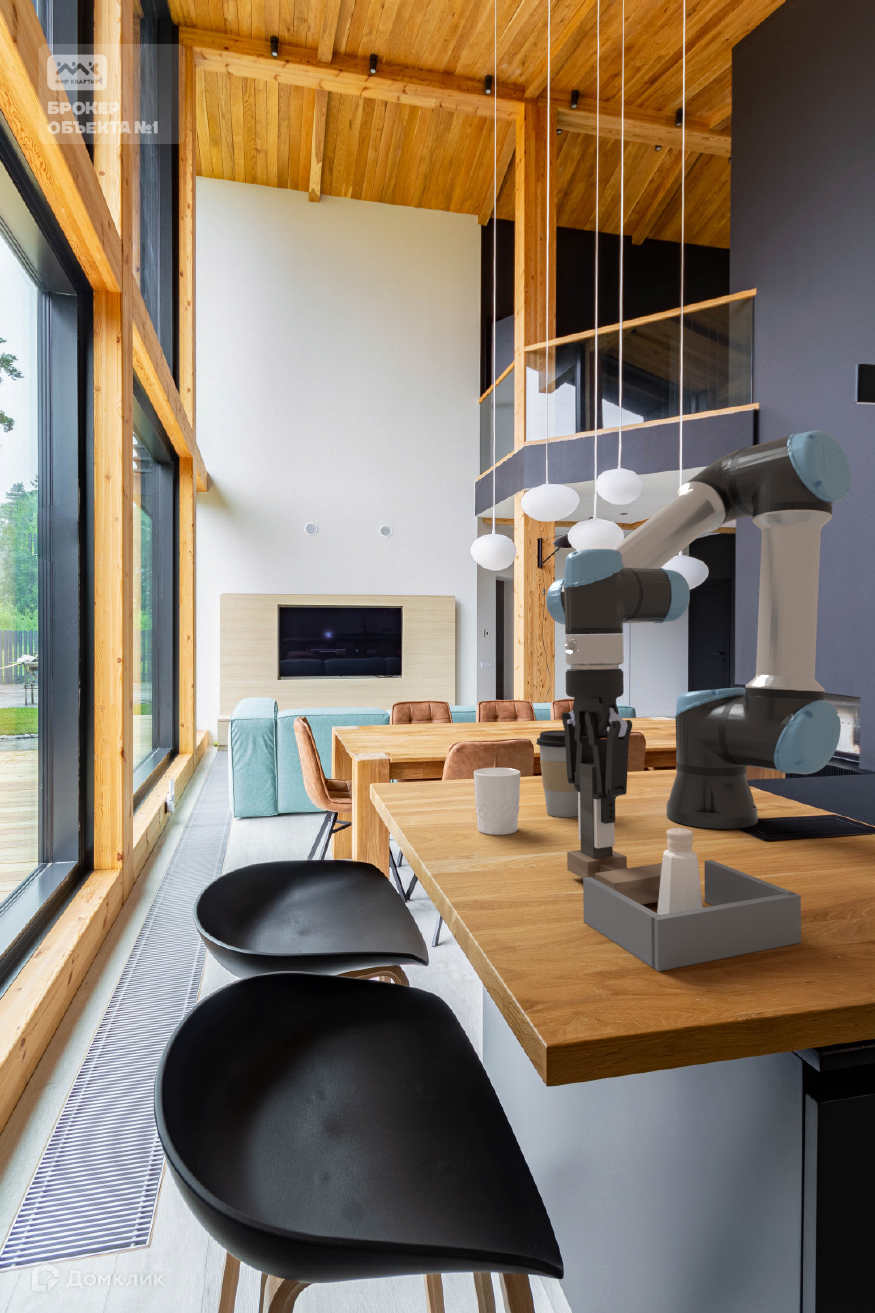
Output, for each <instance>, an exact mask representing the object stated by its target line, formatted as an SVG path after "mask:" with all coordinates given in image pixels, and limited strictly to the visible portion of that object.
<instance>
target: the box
mask: <svg viewBox="0 0 875 1313" xmlns="http://www.w3.org/2000/svg"><path fill="white" fill-rule="evenodd" d="M582 882H583V883H582V884H583V886H582V887H583V888H582V890H583V893H582V894H583V897H582V898H583V922H584V923H585V924H587V925H588V926H590V927H591V928H593V929H594V930H596V931H597V932H598V933H600V934H602V935H603V936H604V937H606V938H607V939H609V940H611V941H612V942H614V943H615V944H616V945H618V946H619V947H621V948H623V949H624V950H626V951H627V952H628V953H630V954H632V955H633V956H635V957H636V958H637V959H638V960H640V961H642V962H643V963H645V964H646V965H648V966H649V967H651V968H652V969H653V970H655V971H656V972H662V971H668V970H673V969H676V968H681V967H687V966H691V965H697V964H701V963H707V962H711V961H716V960H722V959H726V958H727V959H728V958H731V957H737V956H741V955H746V954H751V953H756V952H760V951H762V952H763V951H766V950H770V949H775V948H780V947H786V946H791V945H797V944H800V943H802V897H801V896H802V895H801V894H798V893H796V892H793V891H792V890H788V889H786V888H783V887H781V886H778V885H776V884H774V883H771V882H768V881H765V880H763V879H761V878H758V877H755V876H753V875H750V874H747V873H745V872H743V871H740V870H738V869H735V868H733V867H731V866H728V865H725V864H723V863H720V862H718V861H715V860H713V859H707V860H704V902H705V903H708V904H709V905H711V906H705V907H704V906H703V908H698V909H692V910H686V911H680V912H674V913H669V914H663V915H659V914H657V912H655V911H653V910H651V908H648V907H646V906H645V905H644V904H639V903H637V902H635V901H634V900H632V899H630V898H628V897H626V896H625V895H623V894H621V893H619V892H617V891H615V890H614V889H612V888H610V887H608V886H606V885H605V884H603V883H601V882H599V881H597V880H595V879H594V878H592V877H587V878H582Z"/></svg>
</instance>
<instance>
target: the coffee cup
mask: <svg viewBox="0 0 875 1313" xmlns="http://www.w3.org/2000/svg"><path fill="white" fill-rule="evenodd" d="M535 744H536V745H538V746H539V753H540V759H539V760H540V762H539V763H540V770H541V779H542V780H541V781H542V788H543V789H544V799H545V807H546V814H547V815H548V816H551V817H556V818H573V817H578V792H577V791H576V790H575V787H574V784H573V783H572V784H569V783H568V780H567V765H566V748H565V731H564V729H562V730H558V729H557V730H545V731H541V732H540V733H539V737H538V738H536V743H535ZM574 774H575V773H574Z"/></svg>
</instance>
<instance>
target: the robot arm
mask: <svg viewBox="0 0 875 1313" xmlns="http://www.w3.org/2000/svg"><path fill="white" fill-rule="evenodd" d="M851 478H852V476H851V469H850V464H849V460H848V457H847V455H846V452H845V450H844V449H843V448H842V445H841V444H840V442H839V441H838V440H837V439H836V437H834V436H833V435H832V434H830V433H828V432H827V431H823V430H818V429H817V430H810V431H807V432H800V433H799V432H798V433H797V432H796V433H792V434H791V435H788V436H785V437H782V438H778V439H774V440H771V441H766V442H761V443H759V444H755V445H752V446H748V447H743V448H739V449H736V450H734V451H732V452H729V453H728V454H726V455H725V456H722V457H720V458H718V459H717V460H716V461H714V462H713V463H711V464H710V465H708V466H707V467H705V468H703V469H702V470H701V471H699V473H697V474H696V475H695V476H693V477H692V478H691V479H689V480H688V481H686V482H685V483H684V484H682V485H681V487H679V488H678V490H677V491H676V494H675V496H674V499H673V500H672V501H671V502H669V503H668V504H667V505H665V506H664V507H662V509H660V510H658V512H657V513H655V514H653V515H652V517H650V518H649V519H648V520H646V521H644V523H642V524H641V525H640V526H638V527H637V528H636V529H635V530H633V531H632V532H631V533H629V534H628V535H627V536H626V537H624V538H623V539H622V540H620V542H618V543H617V544H616V545H614V546H613V547H612V548H589V549H580V550H575V551H571V552H570V553H569V554H567V556H566V557H565V561H564V572H563V573H564V576H563V578H560V579H556V580H555V581H554V582H553V583H551V585H550V586H549V588H548V590H547V593H546V597H545V604H546V609H547V611H548V614H549V615H550V617H551V618H552V619H553V621H554V622H556V623H558V624H560V625H564V627H565V628H564V629H565V631H564V632H565V633H564V634H565V643H564V649H565V664H566V665H568V666H570V668H568V669H566V671H565V694H566V696H567V697H569V698H574V699H573V704H572V706H571V707H572V710H571V711H569V712H566V711H565V712H562V713H561V715H560V716H561V721H562V726H563V730H564V731H565V748H566V765H567V780H568V783H569V784H572V783H573V784H574V787H575V790H576V791H577V792H578V815H577V817H578V819H577V820H578V840H579V841H580V842H581V832H580V764H581V763H592V762H594V765H595V776H596V786H597V794H593V795H592V796H593V802H594V847H595V848H604V847H611V846H613V847H615V845H616V841H615V836H616V835H615V832H616V831H615V822H616V799H617V797H619V796H625V795H627V790H628V768H629V767H628V766H629V765H628V764H629V742H630V740H629V739H630V736H631V732H632V728H633V722H632V720H631V719H626V720H625V719H623V718H622V717H621V716H620V714H619V708H618V705H617V699H618V698H619V697H622V696H623V694H624V686H625V685H624V670H622V668H620V665H623V664H624V662H625V660H624V659H625V658H624V624H635V623H636V624H637V623H641V624H642V623H654V624H663V623H665V622H673V621H676V620H678V619H679V618H681V617H682V616H683V615H684V614H685V613H686V612H687V611H686V610H688V607H689V604H690V601H691V600H690V599H691V598H690V596H691V593H690V592H691V590H690V586H689V583H688V581H687V578H685V577H684V576H683V574H681V573H680V572H678V571H676V570H673V569H665V568H663V567H664V566H665V565H666V564H668V563H669V562H670V561H671V560H673V558H674V557H677V555H678V554H679V553H681V552H682V551H683V550H684V549H685V548H686V547H688V546H689V545H690V544H691V543H692V542H694V541H695V540H696V539H698V538H699V536H701V535H703V534H708V533H713V532H714V531H717V529H719V528H720V527H722V526H723V525H724V524H726V523H729V522H731V521H736V520H739V519H744V518H748V517H749V518H750V517H752V523H753V524H754V525H755V526H756V527H757V528H759V530H761V545H760V546H761V547H760V550H761V551H760V568H759V569H760V571H759V572H760V573H759V590H758V591H759V592H758V593H759V595H758V618H757V619H758V621H757V642H756V663H755V664H756V665H755V666H756V667H755V676H754V678H752V679H751V680H750V681H749V682H748V683H747V684H745V688H744V687H730V688H729V687H728V688H718V689H705V690H696V691H694V690H693V691H684V692H682V693H681V694H680V695H678V697H677V699H676V708H675V714H674V718H675V749H676V750H675V754H676V757H675V758H676V775H675V778H674V780H673V784H672V787H671V792H670V795H669V799H668V800H667V802H666V817H667V818H668V819H669V820H670V821H672V822H675V823H678V824H682V825H686V826H689V827H697V828H703V829H715V830H716V829H717V830H718V829H720V830H721V829H723V830H732V829H745V828H750V827H753V826H755V825H757V824H758V822H759V820H758V818H759V816H758V814H759V813H758V808H757V805H756V804H755V802H754V796H753V794H752V791H751V787H750V784H749V782H748V777H747V767H752V768H757V769H759V768H760V769H765V770H771V771H777V772H779V773H780V772H781V773H782V774H801V775H809V774H810V775H811V774H814V773H816V772H819V771H820V770H822V769H823V768H825V766H826V765H827V764H828V763H829V761H830V760H831V759H832V758H833V756H835V752H836V751H837V748H838V745H839V742H840V738H841V730H842V728H841V727H842V726H841V717H840V716H839V715H838V714H839V712H838V710H837V708H836V707H835V706H834V704H832V703H831V702H828V701H827V700H825V699H826V698H825V696H826V695H825V693H826V689H825V688H824V687H823V686H822V685H821V684H820V683H819V682H818V681H817V680H816V678H815V677H816V676H815V675H816V657H817V656H816V654H817V652H816V650H817V633H818V632H817V627H818V626H817V625H818V609H819V608H818V603H819V602H818V601H819V600H818V599H819V582H820V581H819V579H820V559H821V558H820V555H821V554H820V552H821V550H820V549H821V535H822V534H821V533H822V532H821V531H822V528H823V527H824V526H825V525H826V524H828V522H830V521H831V520H832V517H833V505H834V504H837V503H839V502H840V501H842V500H843V499H845V497H846V496H847V494H848V492H849V490H850V487H851V480H852V479H851ZM574 773H575V774H574Z"/></svg>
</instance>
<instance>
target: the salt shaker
mask: <svg viewBox="0 0 875 1313" xmlns="http://www.w3.org/2000/svg"><path fill="white" fill-rule="evenodd" d="M666 836H667V837H666V838H667V839H666V843H667V849H665V850H664V851H663V854H662V860H661V863H662V869H661V879H660V889H659V900H658V902H657V912H656V913H657V914H659V915H663V914H669V913H674V912H680V911H686V910H692V909H698V908H704V905H703V896H702V887H701V886H702V885H701V878H700V870H699V860H698V854H697V852H694V851H693V844H694V843H693V842H694V841H693V837H694V832H693V831H692V830H690V829H687V828H684V827H672V828H669V829H667V830H666Z"/></svg>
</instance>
